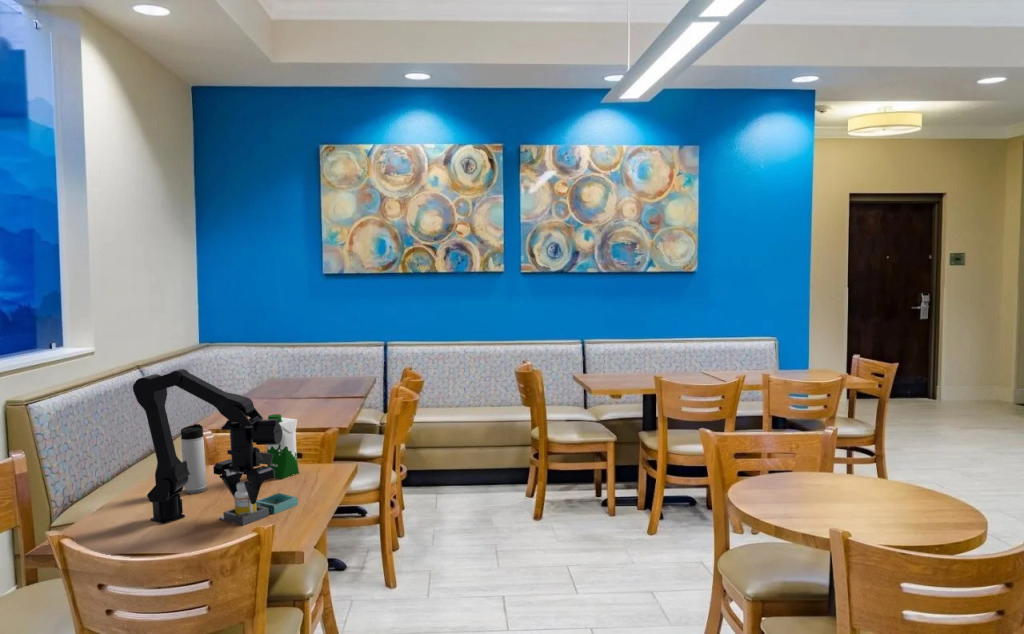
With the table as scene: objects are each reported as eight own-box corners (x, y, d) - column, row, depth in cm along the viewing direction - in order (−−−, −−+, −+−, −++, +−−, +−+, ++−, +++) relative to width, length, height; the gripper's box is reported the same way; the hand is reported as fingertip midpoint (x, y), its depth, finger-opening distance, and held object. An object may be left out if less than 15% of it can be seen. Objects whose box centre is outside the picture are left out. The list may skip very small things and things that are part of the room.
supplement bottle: (250, 513, 200) (248, 478, 199) (261, 517, 197) (258, 482, 196) (232, 519, 196) (229, 483, 195) (242, 523, 193) (240, 487, 192)
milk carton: (263, 476, 235) (259, 415, 233) (285, 469, 242) (282, 410, 241) (281, 480, 230) (278, 418, 228) (303, 472, 238) (300, 412, 236)
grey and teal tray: (243, 525, 191) (242, 517, 190) (219, 519, 196) (218, 511, 196) (298, 504, 206) (297, 497, 206) (274, 499, 211) (274, 491, 211)
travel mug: (211, 487, 225) (207, 423, 224) (200, 494, 219) (195, 428, 217) (192, 487, 226) (188, 424, 224) (180, 494, 219) (176, 429, 218)
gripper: (289, 442, 196) (292, 498, 198) (245, 434, 207) (248, 488, 208) (254, 451, 187) (258, 510, 188) (210, 443, 197) (214, 499, 199)
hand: (245, 501), depth 196 cm, fingers open, 7 cm apart
